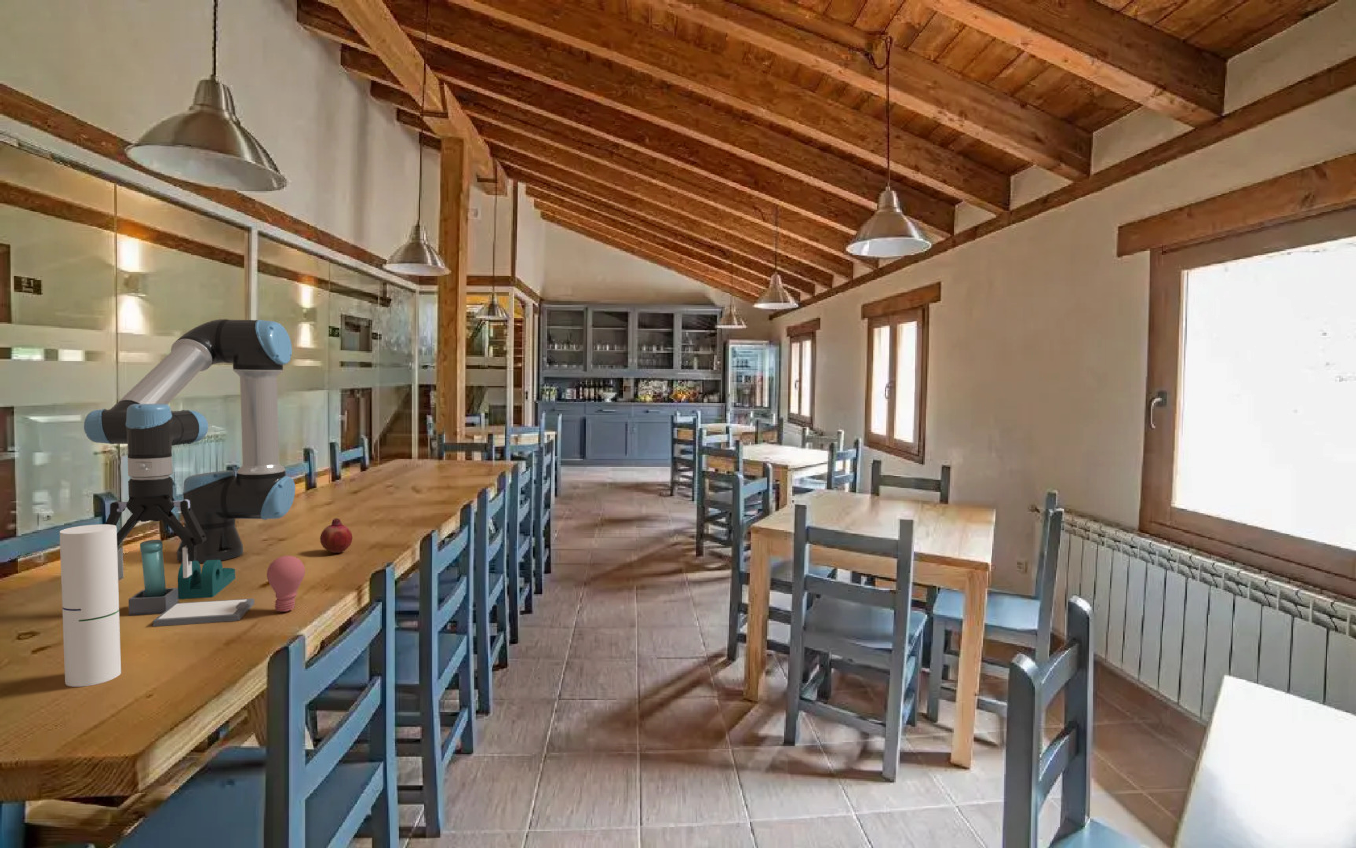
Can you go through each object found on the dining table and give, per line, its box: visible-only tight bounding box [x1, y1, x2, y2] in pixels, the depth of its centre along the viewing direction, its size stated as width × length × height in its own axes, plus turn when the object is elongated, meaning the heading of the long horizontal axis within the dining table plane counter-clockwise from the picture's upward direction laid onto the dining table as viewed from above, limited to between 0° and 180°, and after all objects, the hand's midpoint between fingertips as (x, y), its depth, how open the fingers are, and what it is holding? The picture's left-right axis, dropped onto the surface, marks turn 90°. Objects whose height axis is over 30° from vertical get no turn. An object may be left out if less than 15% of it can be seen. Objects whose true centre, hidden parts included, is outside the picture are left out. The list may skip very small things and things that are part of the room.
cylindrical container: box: [59, 523, 122, 688], centre depth 116 cm, size 7×7×25 cm
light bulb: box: [266, 555, 306, 613], centre depth 150 cm, size 7×7×12 cm
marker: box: [139, 539, 167, 598], centre depth 150 cm, size 4×4×14 cm
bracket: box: [177, 560, 236, 600], centre depth 166 cm, size 18×7×8 cm, turn 16°
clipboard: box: [152, 598, 255, 627], centre depth 147 cm, size 11×15×2 cm
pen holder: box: [128, 587, 179, 617], centre depth 150 cm, size 7×7×4 cm
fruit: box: [319, 518, 353, 554], centre depth 199 cm, size 8×8×10 cm
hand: (153, 578), depth 149 cm, fingers open, 12 cm apart
